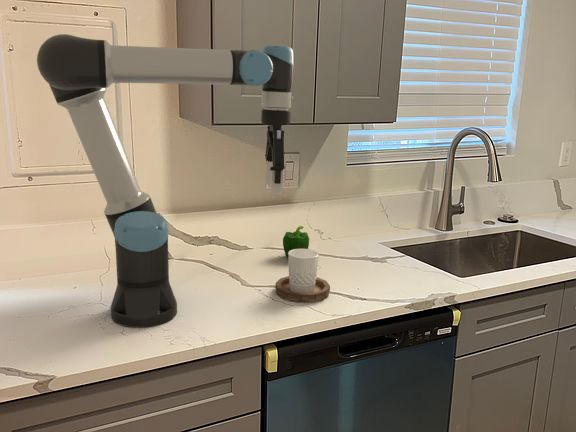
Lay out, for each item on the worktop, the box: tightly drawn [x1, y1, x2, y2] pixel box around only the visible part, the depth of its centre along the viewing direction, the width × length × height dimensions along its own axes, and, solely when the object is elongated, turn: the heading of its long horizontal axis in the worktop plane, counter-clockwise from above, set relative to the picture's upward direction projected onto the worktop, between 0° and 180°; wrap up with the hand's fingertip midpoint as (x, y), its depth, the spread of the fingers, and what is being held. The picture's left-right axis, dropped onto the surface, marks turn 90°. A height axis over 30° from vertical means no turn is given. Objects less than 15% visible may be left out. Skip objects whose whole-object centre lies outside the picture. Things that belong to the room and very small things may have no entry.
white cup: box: [287, 248, 320, 293], centre depth 148 cm, size 8×8×10 cm
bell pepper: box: [282, 225, 310, 259], centre depth 175 cm, size 8×8×10 cm
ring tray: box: [275, 275, 331, 304], centre depth 149 cm, size 14×14×2 cm
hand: (273, 190), depth 150 cm, fingers open, 13 cm apart
